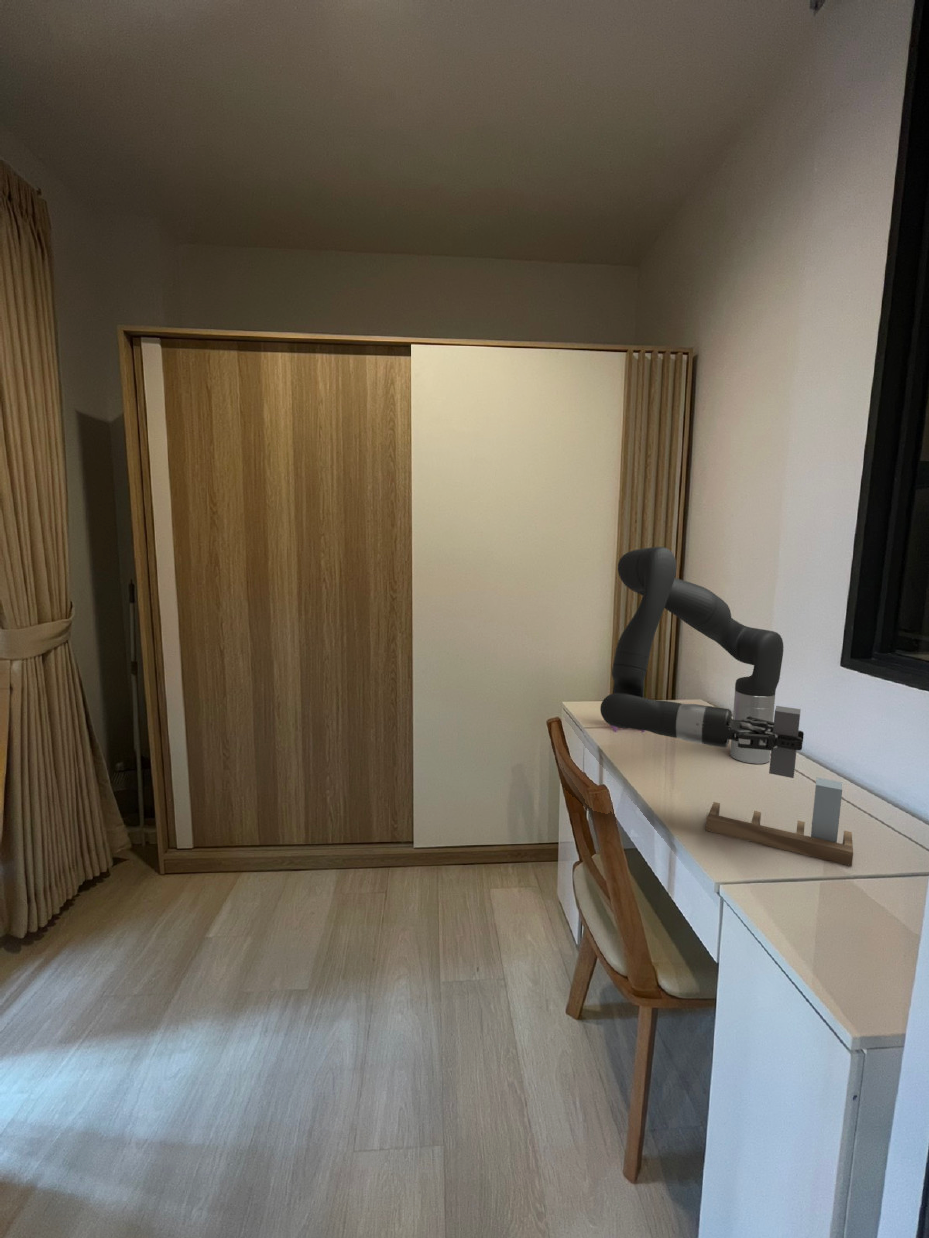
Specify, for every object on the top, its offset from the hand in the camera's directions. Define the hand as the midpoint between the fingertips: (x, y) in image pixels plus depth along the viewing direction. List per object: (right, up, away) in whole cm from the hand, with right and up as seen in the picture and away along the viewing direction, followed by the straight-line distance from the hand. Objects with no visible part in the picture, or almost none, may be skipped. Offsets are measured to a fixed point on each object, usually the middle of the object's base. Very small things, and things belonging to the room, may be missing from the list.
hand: (802, 740), depth 110 cm
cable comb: (-3, -19, +3) cm, 19 cm away
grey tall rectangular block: (-2, -6, +2) cm, 7 cm away
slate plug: (+4, -19, 0) cm, 20 cm away
